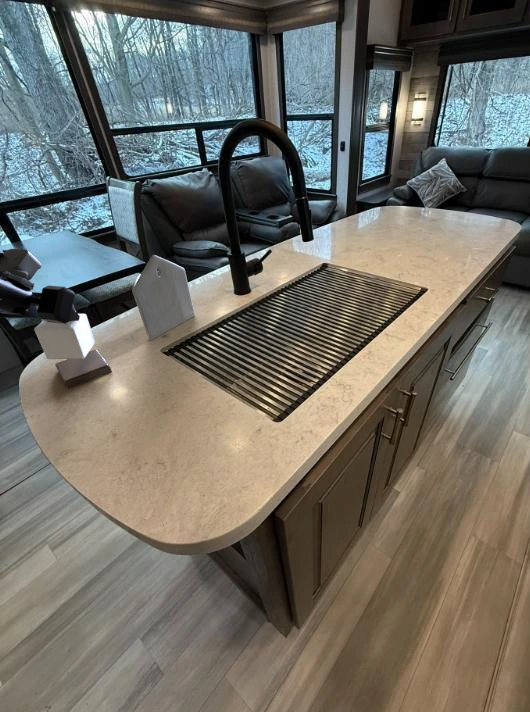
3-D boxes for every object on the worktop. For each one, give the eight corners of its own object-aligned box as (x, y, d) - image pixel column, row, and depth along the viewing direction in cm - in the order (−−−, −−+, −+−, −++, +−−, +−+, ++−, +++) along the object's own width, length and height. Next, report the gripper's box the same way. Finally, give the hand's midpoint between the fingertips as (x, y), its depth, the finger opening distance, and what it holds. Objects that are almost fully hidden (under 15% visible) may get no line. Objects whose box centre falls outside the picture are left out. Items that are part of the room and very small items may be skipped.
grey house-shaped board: (176, 309, 100) (158, 242, 88) (195, 315, 96) (180, 246, 84) (130, 333, 89) (102, 259, 77) (150, 340, 86) (124, 265, 73)
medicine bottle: (96, 342, 75) (79, 291, 68) (84, 359, 69) (64, 305, 62) (61, 342, 74) (40, 290, 67) (46, 360, 68) (22, 304, 61)
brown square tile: (68, 388, 70) (64, 381, 69) (58, 370, 76) (54, 363, 75) (112, 371, 75) (108, 364, 74) (99, 355, 80) (96, 348, 79)
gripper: (39, 239, 52) (110, 282, 67) (-55, 234, 55) (33, 276, 71) (23, 307, 51) (99, 335, 66) (-72, 298, 54) (21, 326, 69)
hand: (62, 316), depth 68 cm, fingers closed on medicine bottle, 7 cm apart
